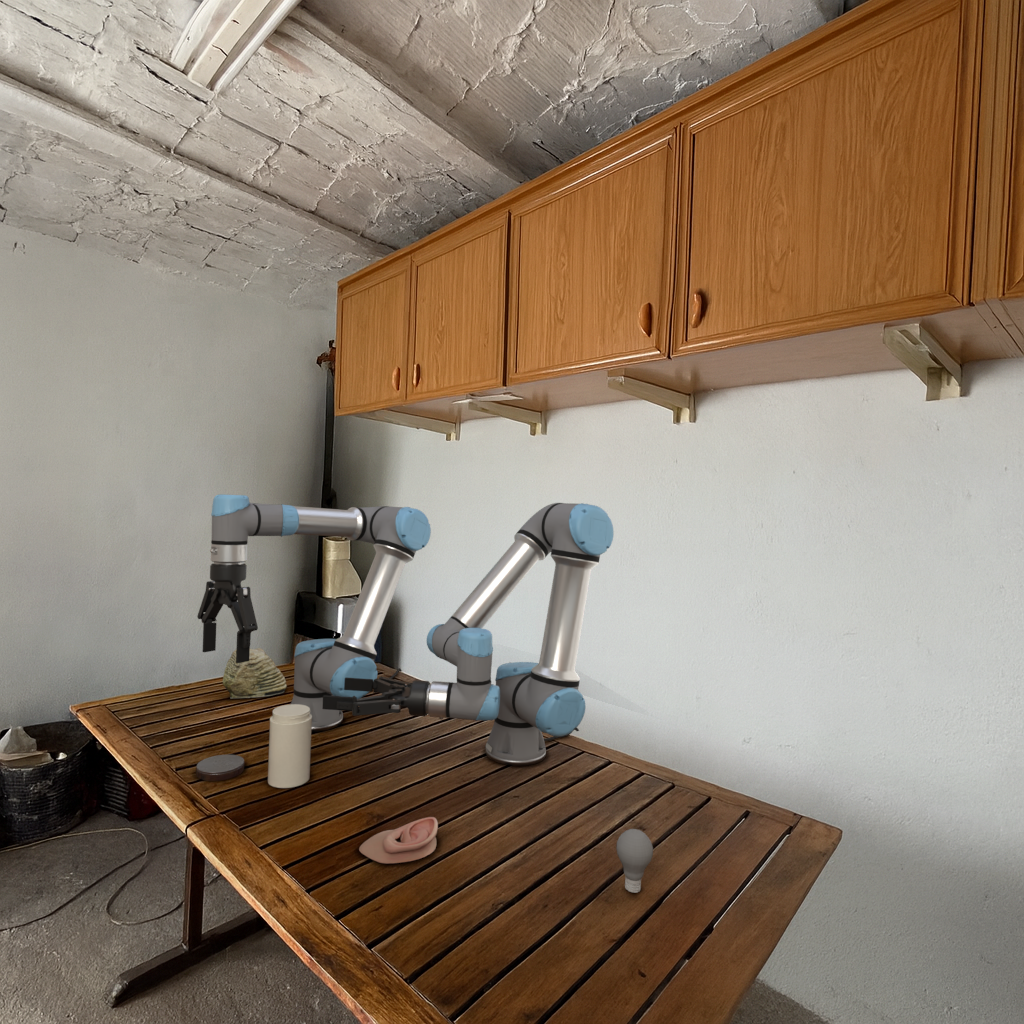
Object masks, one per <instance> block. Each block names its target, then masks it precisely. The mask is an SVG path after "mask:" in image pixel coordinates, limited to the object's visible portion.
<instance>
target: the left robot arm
mask: <svg viewBox="0 0 1024 1024" xmlns="http://www.w3.org/2000/svg"><path fill="white" fill-rule="evenodd" d="M210 515H211V540H210V544H211V545H210V550H209V551H210V561H211V562H212V563H211V564H210V565H209V566H210V567H209V579H210V580H209V581H206V585H205V591H204V595H203V598H202V601H201V604H200V605H199V606H200V607H199V609H198V613H197V620H201V623H202V624H203V626H202V627H203V628H202V629H203V631H202V653H210V652H214V651H216V649H217V648H216V647H217V646H216V645H217V622H218V620H217V617H218V615H219V613H220V612H221V610H222V608H223V606H224V605H225V606H226V607H227V608H228V609H230V611H231V613H232V616H233V619H234V622H235V624H236V626H237V629H238V630H237V632H236V649H235V650H236V663H242V662H247V661H249V654H250V649H251V639H252V632H255V631H258V629H259V627H258V622H257V619H256V618H257V617H256V614H255V610H254V609H255V608H254V606H253V605H254V604H253V602H252V597H251V587H250V586H242V582H243V581H245V580H246V579H247V570H248V569H247V568H248V566H247V563H246V562H247V561H248V541H249V537H285V536H286V537H288V536H293V535H297V536H298V535H300V536H301V535H302V536H323V537H325V536H326V537H345V538H346V539H347V540H349V541H357V542H364V543H369V544H373V548H374V551H375V555H374V558H373V560H372V563H371V566H370V568H369V571H368V573H367V575H366V578H365V580H364V582H363V585H362V589H361V590H360V593H359V596H358V598H357V600H356V603H355V605H354V608H353V610H352V612H351V615H350V617H349V620H348V622H347V625H346V628H345V630H344V633H343V635H342V636H339V637H338V638H318V639H308V640H304V641H300V642H299V643H297V644H296V646H295V650H294V655H293V657H294V672H293V673H294V674H293V695H292V696H293V697H292V699H291V702H290V704H299V705H305V706H308V707H309V708H310V714H311V715H312V731H311V733H316V732H325V731H329V730H332V729H335V728H337V727H339V726H340V725H342V723H343V722H344V714H343V710H328V709H322V708H323V696H324V695H328V696H343V697H353V696H355V697H357V699H360V698H364V697H365V696H367V695H368V694H369V693H370V692H367V691H352V690H344V682H345V678H361V679H373V681H374V679H376V678H377V679H378V670H377V668H378V666H377V664H376V663H375V660H376V657H377V654H378V653H377V651H376V649H375V644H376V641H377V639H378V636H379V634H380V631H381V629H382V627H383V623H384V621H385V618H386V616H387V612H388V611H389V607H390V606H391V602H392V599H393V597H394V594H395V592H396V589H397V586H398V584H399V581H400V579H401V576H402V573H403V571H404V568H405V566H406V564H408V563H409V562H412V561H413V560H414V557H415V555H416V552H417V551H420V550H422V549H423V548H425V547H426V546H427V545H428V543H429V541H430V538H431V533H432V532H431V530H432V529H431V524H430V522H429V519H428V517H427V515H426V514H425V513H424V512H423V511H421V510H420V509H418V508H413V507H410V506H404V507H403V506H389V505H381V506H367V507H364V506H363V507H359V506H357V507H355V506H352V507H349V508H348V509H340V508H339V509H337V508H323V507H311V506H297V505H291V504H283V503H282V504H276V503H275V504H274V503H273V504H271V503H259V502H257V503H256V502H250V498H249V496H248V495H245V494H244V495H243V494H217V495H215V496H214V497H213V500H212V507H211V514H210ZM402 671H403V670H402V669H401V668H400V667H398V668H397V669H396V671H395V672H394V673H393V674H392V675H391V676H390V677H389V678H390V679H394V678H395V677H396V676H397V675H398V673H399V672H402Z"/></svg>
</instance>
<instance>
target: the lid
mask: <svg viewBox="0 0 1024 1024" xmlns="http://www.w3.org/2000/svg"><path fill="white" fill-rule="evenodd" d="M244 770H245V759H244V757H243V756H241V755H237V754H218V755H213V756H209V757H207V758H204V759H202V760H200V761H198V763H197V764H196V767H195V777H196V778H198V779H199V780H202V781H205V782H220V781H226V780H229V779H233V778H236V777H237V776H239V775H241V774H242V773H243V772H244Z"/></svg>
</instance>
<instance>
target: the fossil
mask: <svg viewBox="0 0 1024 1024" xmlns="http://www.w3.org/2000/svg"><path fill="white" fill-rule="evenodd" d="M222 676H223V677H222V685H223V687H224V688H225V690H226V691H228V693H229V698H230V699H250V698H264V697H271V696H275V695H281V694H284V693H285V691H286V689H287V687H288V686H287V680H286V678H285V676H284V674H283V673H282V672H281V669H279V668H278V667H277V665H276V663H275V662H274V660H273V659H272V658H271V657H270V656H269V655H268V654H267V653H266V652H265V650H264V649H263V648H260V647H258V648H250V654H249V661H247V662H242V663H236V649H235V650H233V651H232V653H231V656H230V657H229V659H228V660H227V663H226V666H225V668H224V671H223V675H222Z"/></svg>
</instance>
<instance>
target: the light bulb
mask: <svg viewBox="0 0 1024 1024" xmlns="http://www.w3.org/2000/svg"><path fill="white" fill-rule="evenodd" d="M615 849H616V854H617V857H618V859H619V861H620V863H621V865H622V867H623V873H624V874H623V875H624V876H625V878H624V888H625V890H627V891H628V892H630V893H634V894H635V893H639V892H640V891H641V889H642V887H641V886H642V879H643V877H644V875H645V871H646V868H647V867H648V866H649V864H650V863H651V861H652V859H653V855H654V847H653V843H652V841H651V838H649V836H648V835H647V834H646V833H645V832H643V831H642V830H641V829H636V828H629V829H627V830H625V831H623V832H622V833H621V834H620V835H619V837H618V839H617V841H616V847H615Z"/></svg>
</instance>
